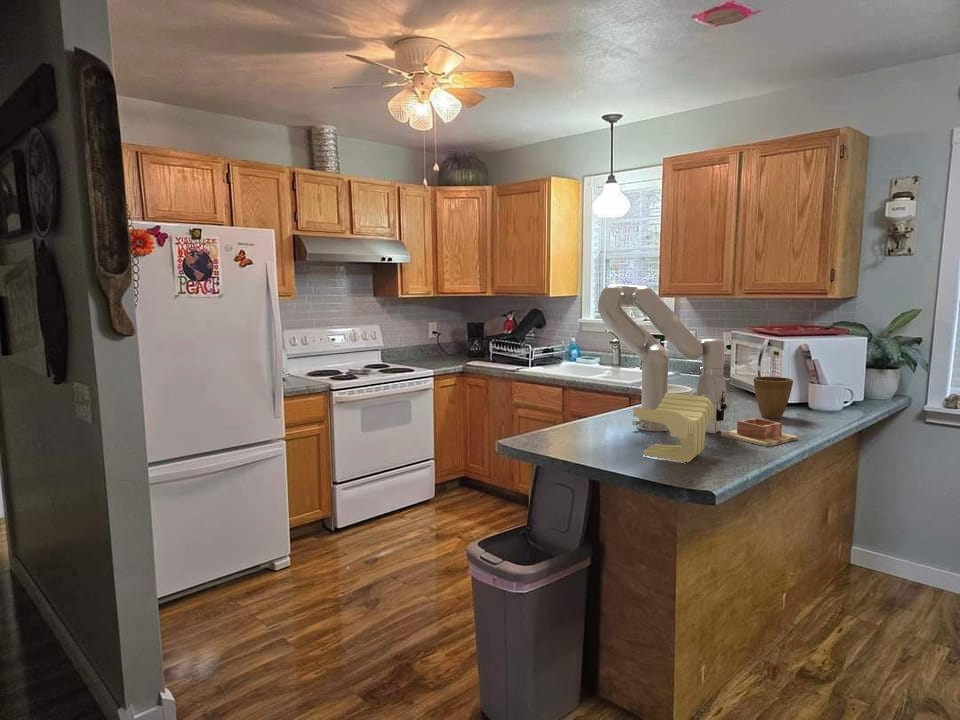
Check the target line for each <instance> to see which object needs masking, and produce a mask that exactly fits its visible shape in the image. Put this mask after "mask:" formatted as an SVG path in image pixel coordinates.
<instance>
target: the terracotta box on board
mask: <svg viewBox="0 0 960 720" xmlns="http://www.w3.org/2000/svg"><path fill="white" fill-rule="evenodd" d="M736 423H737V425H736V427H737V428H736V429H735V430H734V429H733V430H728V431H724V432H720V436H721V437H723V438H728V439H731V438H732V440H735V439H736V440H735V441H740V442H744V441H745V442H744V443H748V442H749V444H752V443H754V444H753V445H756V444H757V446H760V445H762V446H761V447H765V446H766V447H765V448H768V447H773V446H777V445H781V444H785V443H789V441H790V442H793V440H794V441H798V440H799V437H798V435H793V434H788V433H783V432H782V430H783V423H782V422H778V421H773V420H768V419H762V418H757V417H753V418H748V419H743V420H738V421H737V422H736ZM797 439H798V440H797ZM784 442H785V443H784ZM780 443H781V444H780ZM772 445H773V446H772ZM767 446H768V447H767Z"/></svg>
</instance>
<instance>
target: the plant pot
mask: <svg viewBox="0 0 960 720" xmlns="http://www.w3.org/2000/svg"><path fill="white" fill-rule="evenodd" d="M752 380H753V386H754V392H755V393H754V394H755V399H756V402H757V406H758V409H759V411H760V414H761V417H763V418H766V417H768V419H781V418H782V417H783V415H784V413H785V411H786V408H787V405H788V403H789V400H790V397H791V393H792V389H793V385H794V379H793V378H789V377H782V376H781V377H780V376H755V377H753V379H752ZM780 417H781V418H780Z"/></svg>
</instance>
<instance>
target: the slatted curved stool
mask: <svg viewBox="0 0 960 720" xmlns="http://www.w3.org/2000/svg"><path fill="white" fill-rule="evenodd" d="M633 417H634V418H636V419H639V418H640V419H643V420H645V421H651V422H657V423H661V424H664V425H665V426H666V427H667V428H668V429H669V430H668V431H669V433H670V438H671V437H672V438H673V437H674V438H679V440H680V444H679V445H677V444H676V445H674V444H673V445H671V444H661V443H654V444H653V445H652V446H649V447H648V448H647V449H645V450H643V453H642V456H643V455H645V456H650V457H657V458H664V459H670V460H676V461H682V462H687V463H686V464H688V463H689V462H691V461H692V460H693V459H695V457H697V456H698V455H699V454H701V453H702V452H703V450H704V448H705V437H706V432H705V431H706V426H707V423H708V420H710V419H713V404H712V402H711V401H710V400H709V399H708V398H706V397H704V396H695V395H693V394H688V395H684V394H673V393H665V395H664V398H663V399H662V401H661V403H660V404H659V406H658V408H656V410H653V409H644V408H641V407H633Z"/></svg>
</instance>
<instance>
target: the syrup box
mask: <svg viewBox="0 0 960 720" xmlns="http://www.w3.org/2000/svg"><path fill="white" fill-rule="evenodd" d="M707 395H708V394H702V396H704V397H706V398H708V396H707ZM712 404H713V403H712ZM717 410H718V408H717V404H713V419H710V420H708V423H707V426H706V431H705V433H709V434H716V433H718V432H720V431H721V422H722V421H717Z"/></svg>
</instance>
